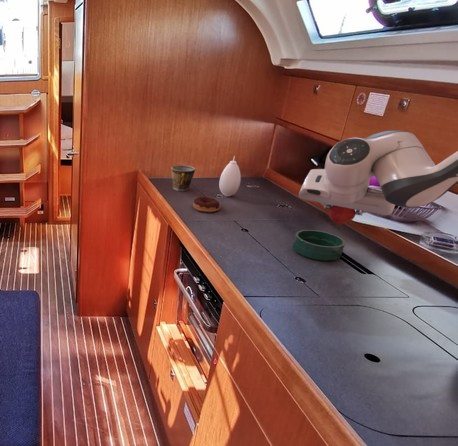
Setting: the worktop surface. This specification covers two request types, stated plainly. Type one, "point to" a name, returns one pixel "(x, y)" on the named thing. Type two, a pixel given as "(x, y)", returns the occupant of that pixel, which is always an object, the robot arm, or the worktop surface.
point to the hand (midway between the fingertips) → (343, 209)
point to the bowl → (318, 245)
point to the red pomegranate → (341, 214)
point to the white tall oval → (230, 179)
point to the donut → (206, 204)
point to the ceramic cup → (182, 177)
